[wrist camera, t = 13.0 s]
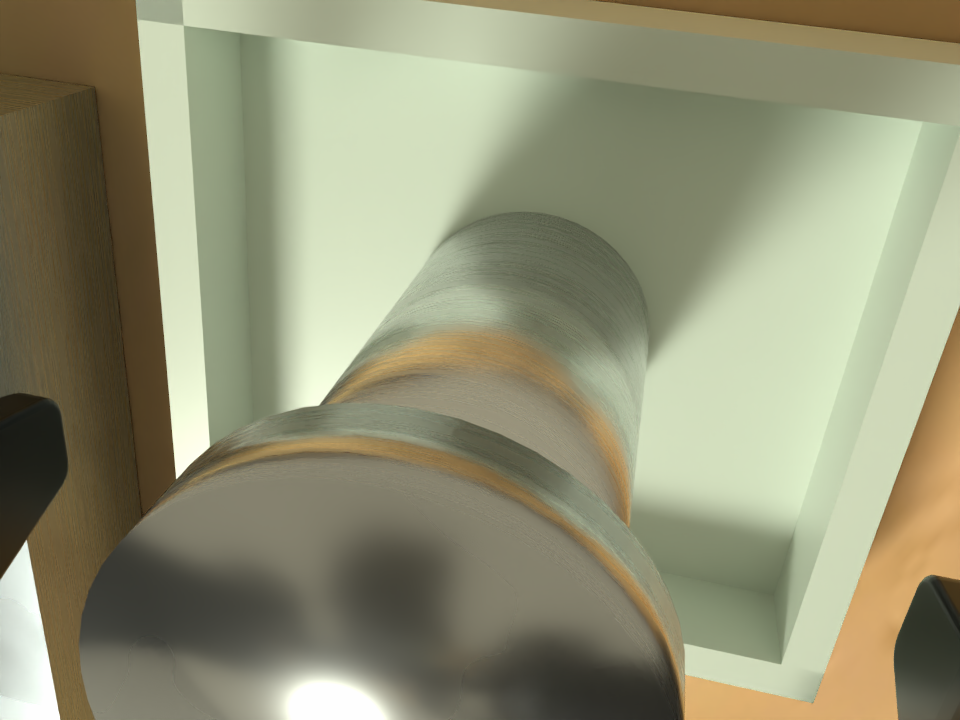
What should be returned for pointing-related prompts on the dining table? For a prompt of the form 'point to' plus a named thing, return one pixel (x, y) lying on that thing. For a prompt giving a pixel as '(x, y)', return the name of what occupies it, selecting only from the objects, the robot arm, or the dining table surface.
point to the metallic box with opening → (60, 383)
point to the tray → (611, 215)
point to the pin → (417, 520)
